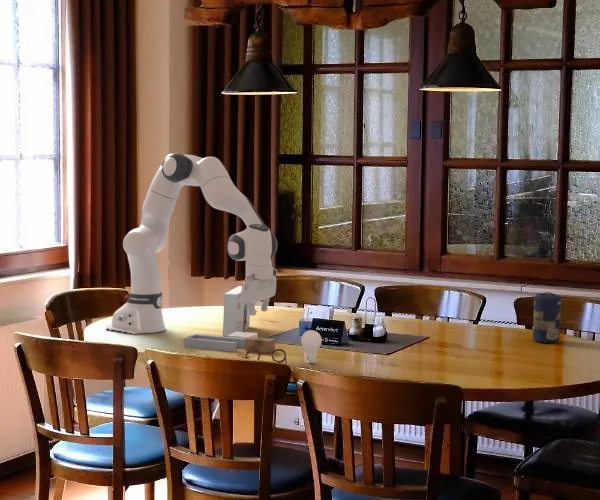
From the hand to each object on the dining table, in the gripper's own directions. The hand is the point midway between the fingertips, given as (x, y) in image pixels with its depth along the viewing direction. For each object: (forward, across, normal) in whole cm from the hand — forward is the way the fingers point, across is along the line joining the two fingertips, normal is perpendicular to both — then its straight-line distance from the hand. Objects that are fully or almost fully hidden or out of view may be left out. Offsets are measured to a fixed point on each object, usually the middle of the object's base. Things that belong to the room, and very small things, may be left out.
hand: (258, 313), depth 349 cm
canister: (+14, +59, -86) cm, 105 cm away
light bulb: (+13, -10, -24) cm, 29 cm away
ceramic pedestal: (+13, +8, +10) cm, 19 cm away
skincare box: (+13, +28, +22) cm, 39 cm away
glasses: (+14, -20, -12) cm, 27 cm away
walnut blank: (+13, 0, -1) cm, 13 cm away
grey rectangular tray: (+13, 0, +16) cm, 21 cm away
